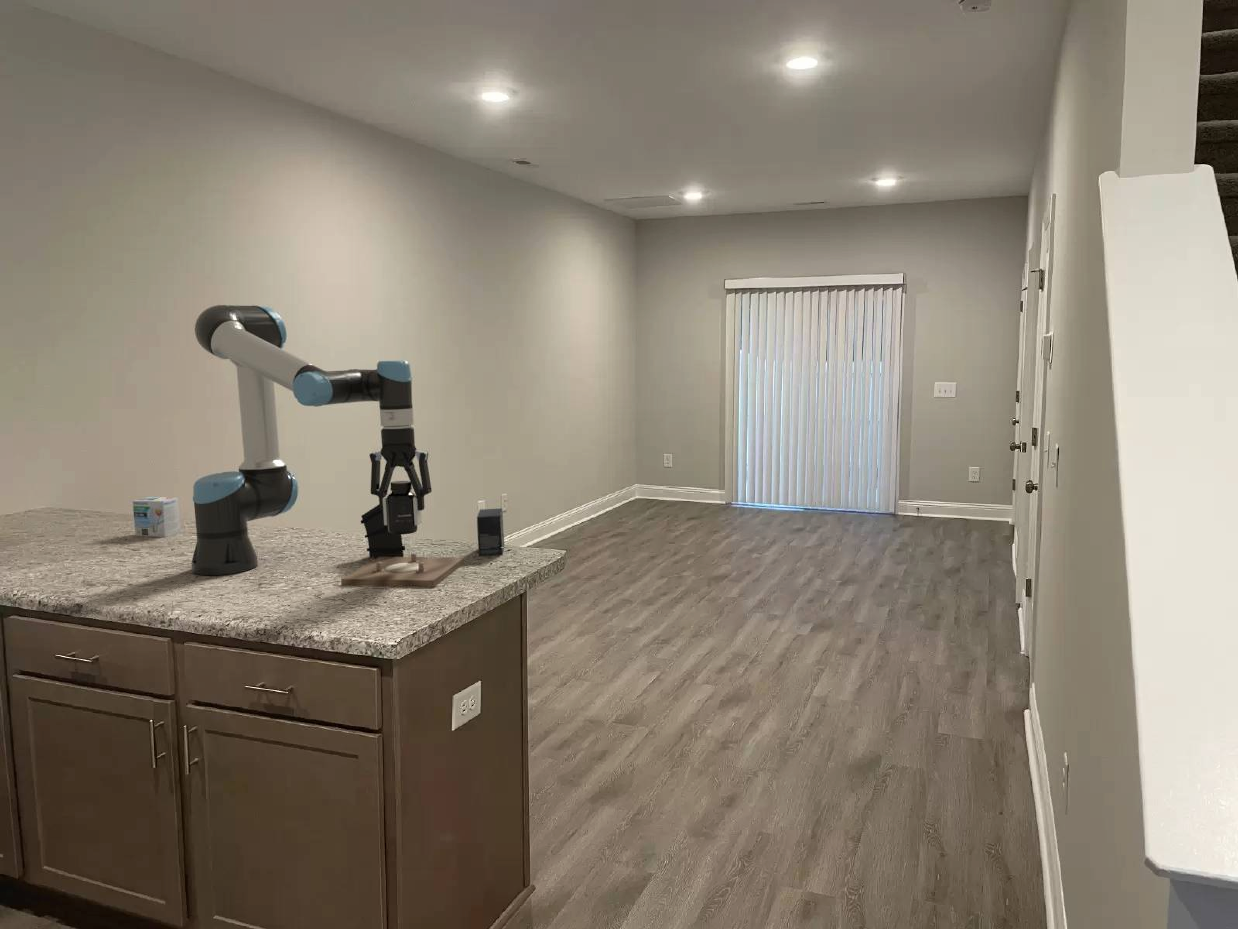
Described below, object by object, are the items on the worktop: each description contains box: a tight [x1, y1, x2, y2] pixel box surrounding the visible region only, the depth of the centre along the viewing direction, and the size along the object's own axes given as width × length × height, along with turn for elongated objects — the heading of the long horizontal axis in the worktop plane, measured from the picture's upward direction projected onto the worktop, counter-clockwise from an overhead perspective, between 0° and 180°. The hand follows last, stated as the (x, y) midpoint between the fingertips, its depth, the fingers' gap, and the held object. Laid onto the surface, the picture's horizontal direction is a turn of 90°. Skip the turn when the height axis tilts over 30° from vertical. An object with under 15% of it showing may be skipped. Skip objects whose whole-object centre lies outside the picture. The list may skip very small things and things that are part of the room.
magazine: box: [360, 504, 406, 559], centre depth 237 cm, size 4×13×15 cm, turn 50°
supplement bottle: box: [387, 480, 418, 536], centre depth 218 cm, size 7×7×12 cm
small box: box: [476, 507, 505, 557], centre depth 242 cm, size 11×6×10 cm, turn 5°
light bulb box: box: [132, 496, 181, 538], centre depth 274 cm, size 11×7×11 cm, turn 77°
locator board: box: [340, 552, 465, 588], centre depth 220 cm, size 22×22×4 cm
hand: (403, 523), depth 219 cm, fingers closed on supplement bottle, 7 cm apart
